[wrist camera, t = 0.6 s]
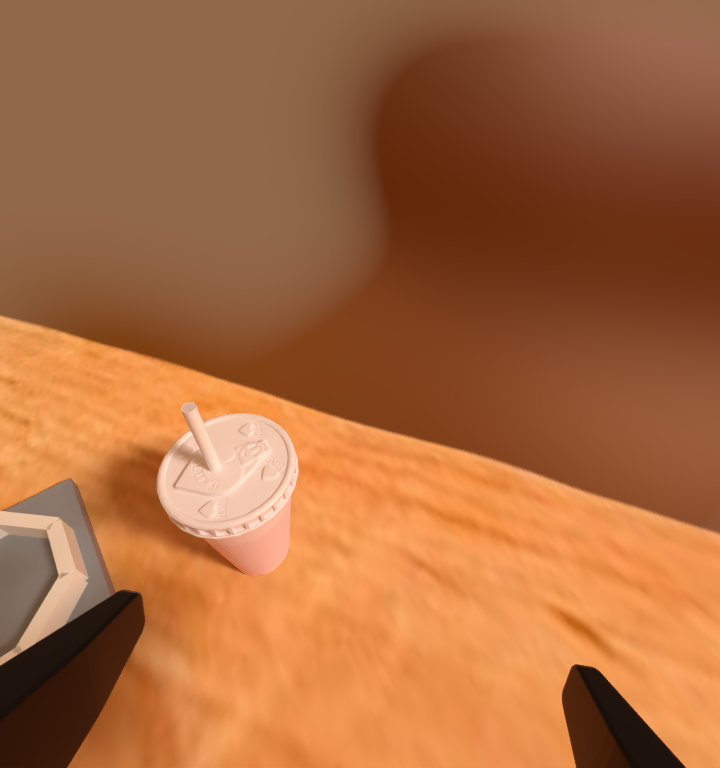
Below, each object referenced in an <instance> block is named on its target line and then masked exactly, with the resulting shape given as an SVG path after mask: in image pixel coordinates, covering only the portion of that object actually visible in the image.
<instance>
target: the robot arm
mask: <svg viewBox="0 0 720 768" xmlns="http://www.w3.org/2000/svg"><path fill="white" fill-rule="evenodd" d="M144 624H145V615H144V607H143V599H142V595H141V594H140V592H136V591H130V590H121V591H118V592H116V593H115V594H113V595H112V596H110V597H108V598H107V599H105V600H104V601H102V602H100V603H99V604H97V605H96V606H94V607H92V608H91V609H89V610H88V611H86V612H84V613H83V614H81V615H80V616H78V617H77V618H75V619H73V620H72V621H70V622H69V623H67V624H65V625H64V626H62V627H61V628H59V629H57V630H56V631H54V632H53V633H51V634H49V635H48V636H46V637H45V638H43V639H41V640H40V641H38V642H37V643H35V644H34V645H32V646H30V647H29V648H27V649H26V650H24V651H22V652H21V653H19V654H18V655H16V656H14V657H13V658H11V659H10V660H8V661H6V662H5V663H3V664H2V665H0V768H67V767H68V765H69V764H70V762H71V760H72V759H73V757H74V756H75V754H76V752H77V751H78V749H79V747H80V746H81V744H82V743H83V741H84V739H85V738H86V736H87V735H88V733H89V731H90V730H91V728H92V726H93V725H94V723H95V721H96V720H97V718H98V716H99V714H100V713H101V711H102V709H103V707H104V705H105V703H106V702H107V700H108V698H109V696H110V694H111V692H112V690H113V688H114V686H115V684H116V682H117V680H118V678H119V676H120V674H121V672H122V670H123V668H124V666H125V664H126V663H127V661H128V659H129V657H130V655H131V653H132V651H133V649H134V647H135V645H136V643H137V641H138V639H139V637H140V635H141V633H142V631H143V628H144ZM562 704H563V709H564V714H565V718H566V723H567V727H568V732H569V737H570V741H571V746H572V750H573V755H574V759H575V764H576V768H686V767H685V766H684V765H683V764H682V763H681V762H680V760H679V759H678V758H677V757H676V756H675V755H674V754H673V753H672V751H671V750H670V749H669V748H668V747H667V746H666V745H665V744H664V743H663V741H662V740H661V739H660V738H659V737H658V736H657V735H656V734H655V733H654V731H653V730H652V729H651V728H650V727H649V726H648V725H647V724H646V722H645V721H644V720H643V719H642V718H641V717H640V716H639V715H638V714H637V712H636V711H635V710H634V709H633V708H632V707H631V706H630V705H629V703H628V702H627V701H626V700H625V699H624V698H623V697H622V696H621V695H620V693H619V692H618V691H617V690H616V689H615V688H614V687H613V686H612V685H611V683H610V682H609V681H608V680H607V679H606V678H605V677H604V676H603V674H602V673H601V672H600V671H598V670H597V669H596V668H594V667H590V666H584V665H578V664H575V665H573V666H572V667H571V670H570V672H569V675H568V678H567V680H566V683H565V686H564V689H563V692H562Z"/></svg>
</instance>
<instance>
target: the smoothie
mask: <svg viewBox="0 0 720 768" xmlns="http://www.w3.org/2000/svg"><path fill="white" fill-rule="evenodd" d="M181 411H182V413H183V415H184V417H185V419H186V421H187V424H188V426H189V428H190V430H189V431H187V432H186V433H185V434H183V435H182V436H181V437H180V438H179V439H178V440H177V441H176V442H175V443H174V444H173V445H172V446H171V448H170V449H169V450H168V452H167V453H166V455H165V456H164V458H163V460H162V462H161V465H160V467H159V471H158V475H157V493H158V497H159V500H160V502H161V504H162V506H163V508H164V509H165V511H166V513H167V515H168V517H169V519H170V520H171V521H172V522H173V523H174V524H175V525H177V526H178V527H179V528H180V529H181V530H182V531H184V532H187V533H189V534H191V535H194V536H196V537H199V538H203V539H204V540H205V541H206V542H207V543H208V544H210V545H211V546H212V547H213V548H214V549H215V550H217V551H218V552H219V553H220V554H221V555H222V556H224V557H225V558H226V559H227V560H228V561H229V562H230V563H232V564H233V565H234V566H235V567H236V568H237V569H239V570H240V571H241V572H243V573H245V574H247V575H251V576H259V575H264V574H267V573H269V572H271V571H273V570H274V569H276V568H277V567H278V566H279V565H280V564H281V563H282V562H283V560H284V559H285V557H286V555H287V552H288V549H289V538H290V511H291V494H292V492H293V490H294V488H295V485H296V481H297V476H298V458H297V455H296V453H295V450H294V446H293V443H292V441H291V439H290V437H289V436H288V434H287V433H286V431H285V430H284V429H283V428H282V427H281V426H279V425H278V424H277V423H275V422H274V421H272V420H270V419H268V418H265V417H262V416H259V415H254V414H246V413H236V414H227V415H222V416H218V417H215V418H212V419H209V420H207V421H204V422H203V420H202V418H201V415H200V413H199V411H198V408H197V406H196V404H195V403H193V402H188V403H185V404H184V405H183V406H182V407H181Z"/></svg>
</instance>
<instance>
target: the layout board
mask: <svg viewBox="0 0 720 768" xmlns="http://www.w3.org/2000/svg"><path fill="white" fill-rule="evenodd" d="M113 594H115V590H114V588H113V585H112V582H111V579H110V576H109V574H108V571H107V568H106V565H105V562H104V560H103V557H102V554H101V551H100V548H99V545H98V543H97V540H96V537H95V534H94V531H93V529H92V526H91V523H90V520H89V517H88V514H87V512H86V509H85V506H84V503H83V500H82V498H81V495H80V492H79V489H78V486H77V485H76V484H75V483H74V482H73V481H72V480H71V479H70V478H69V479H67V480H65V481H63V482H61V483H59V484H57V485H55V486H53V487H51V488H49V489H47V490H45V491H43V492H41V493H39V494H37V495H35V496H33V497H31V498H29V499H27V500H25V501H23V502H21V503H19V504H17V505H15V506H13V507H11V508H9V509H7V510H5V511H0V665H2V664H3V663H5V662H6V661H8V660H10V659H11V658H13V657H14V656H16V655H18V654H19V653H21V652H22V651H24V650H26V649H27V648H29V647H30V646H32V645H34V644H35V643H37V642H38V641H40V640H41V639H43V638H45V637H46V636H48V635H49V634H51V633H53V632H54V631H56V630H57V629H59V628H61V627H62V626H64V625H65V624H67V623H69V622H70V621H72V620H73V619H75V618H77V617H78V616H80V615H81V614H83V613H84V612H86V611H88V610H89V609H91V608H92V607H94V606H96V605H97V604H99V603H100V602H102V601H104V600H105V599H107V598H108V597H110V596H112V595H113Z"/></svg>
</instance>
